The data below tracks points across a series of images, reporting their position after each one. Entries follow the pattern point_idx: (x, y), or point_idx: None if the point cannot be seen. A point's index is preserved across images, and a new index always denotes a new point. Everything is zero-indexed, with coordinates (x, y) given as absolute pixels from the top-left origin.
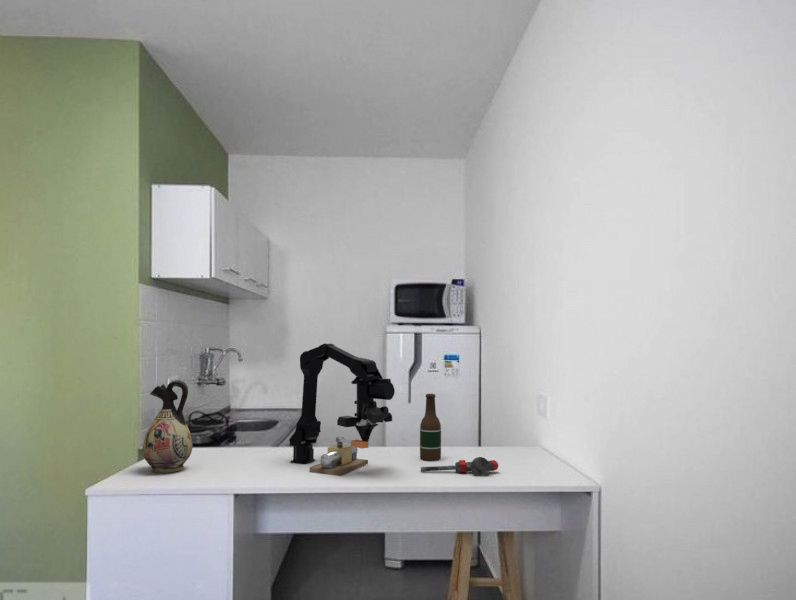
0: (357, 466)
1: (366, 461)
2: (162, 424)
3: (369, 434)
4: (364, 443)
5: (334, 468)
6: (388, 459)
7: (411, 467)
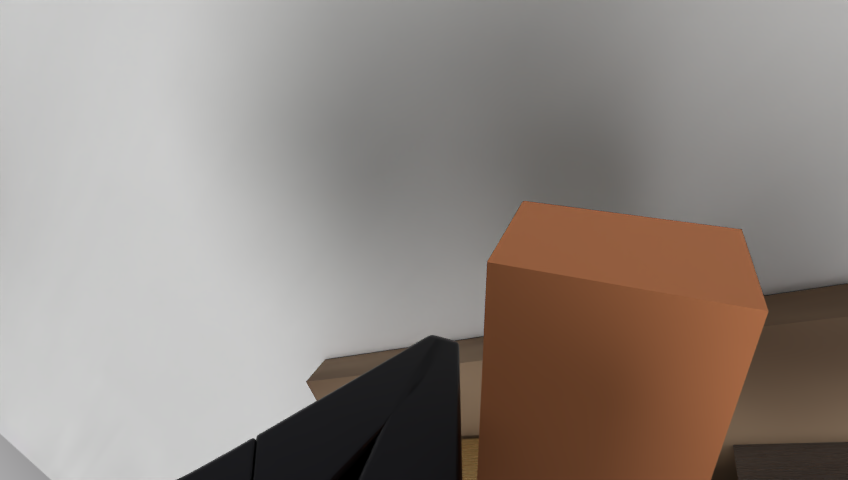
0: (475, 348)
1: (329, 374)
2: None
3: (261, 468)
4: (656, 276)
5: (804, 435)
6: (149, 333)
7: (99, 26)
